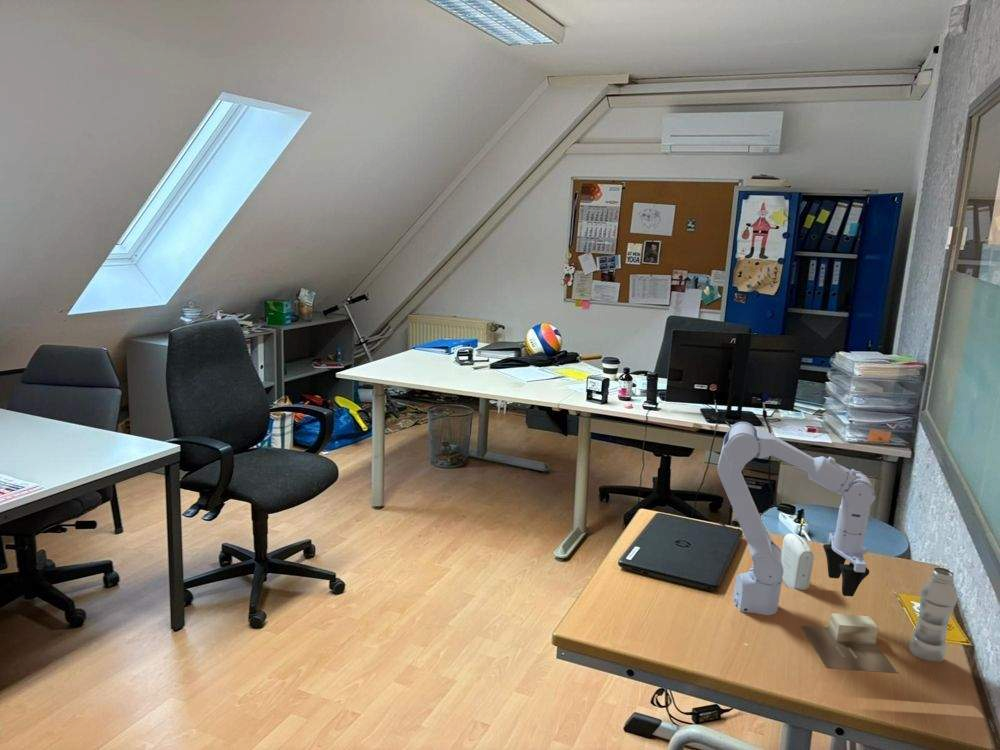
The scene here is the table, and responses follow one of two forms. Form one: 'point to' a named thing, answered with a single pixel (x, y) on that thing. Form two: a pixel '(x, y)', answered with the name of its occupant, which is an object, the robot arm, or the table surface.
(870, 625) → the block
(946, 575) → the plastic bottle
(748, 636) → the table surface
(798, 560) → the photo printer
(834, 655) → the grey flat square block
